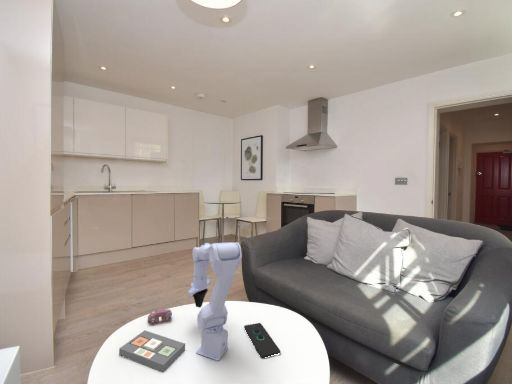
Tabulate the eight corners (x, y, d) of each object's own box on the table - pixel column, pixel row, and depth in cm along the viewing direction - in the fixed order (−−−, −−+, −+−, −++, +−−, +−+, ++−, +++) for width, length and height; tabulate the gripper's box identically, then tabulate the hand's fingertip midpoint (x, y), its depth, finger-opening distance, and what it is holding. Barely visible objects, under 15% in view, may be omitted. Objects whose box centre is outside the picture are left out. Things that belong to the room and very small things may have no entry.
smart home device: (260, 322, 117) (281, 351, 98) (260, 326, 117) (281, 355, 98) (243, 325, 113) (261, 356, 95) (243, 329, 114) (261, 360, 95)
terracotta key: (149, 343, 98) (149, 339, 98) (140, 350, 94) (140, 346, 94) (139, 340, 100) (139, 336, 100) (130, 347, 95) (130, 343, 95)
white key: (162, 345, 96) (162, 341, 96) (153, 352, 92) (153, 348, 92) (152, 342, 98) (152, 338, 97) (143, 349, 93) (143, 345, 93)
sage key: (175, 352, 94) (175, 348, 94) (167, 360, 90) (167, 356, 90) (165, 349, 96) (165, 345, 95) (157, 356, 91) (157, 352, 91)
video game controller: (147, 327, 112) (149, 317, 109) (147, 318, 115) (148, 307, 112) (171, 322, 117) (173, 312, 113) (170, 313, 120) (172, 303, 117)
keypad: (184, 350, 97) (185, 343, 97) (163, 372, 86) (163, 364, 86) (144, 336, 104) (144, 329, 104) (119, 355, 92) (119, 347, 92)
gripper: (201, 267, 118) (199, 297, 119) (181, 279, 105) (180, 312, 105) (215, 270, 116) (213, 300, 117) (196, 282, 102) (195, 316, 103)
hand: (198, 306), depth 111 cm, fingers closed
